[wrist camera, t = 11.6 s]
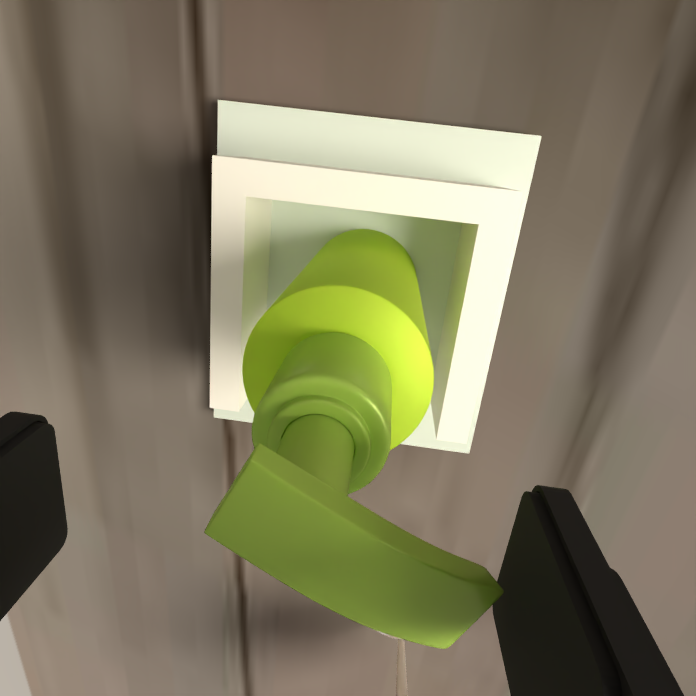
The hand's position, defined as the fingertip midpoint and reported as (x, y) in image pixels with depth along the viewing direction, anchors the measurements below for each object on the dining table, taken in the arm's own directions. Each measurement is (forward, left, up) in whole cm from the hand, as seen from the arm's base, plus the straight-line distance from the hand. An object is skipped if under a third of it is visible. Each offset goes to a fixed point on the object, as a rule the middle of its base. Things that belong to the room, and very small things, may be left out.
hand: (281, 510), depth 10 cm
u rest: (0, 0, -20) cm, 20 cm away
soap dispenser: (0, +1, -19) cm, 19 cm away
